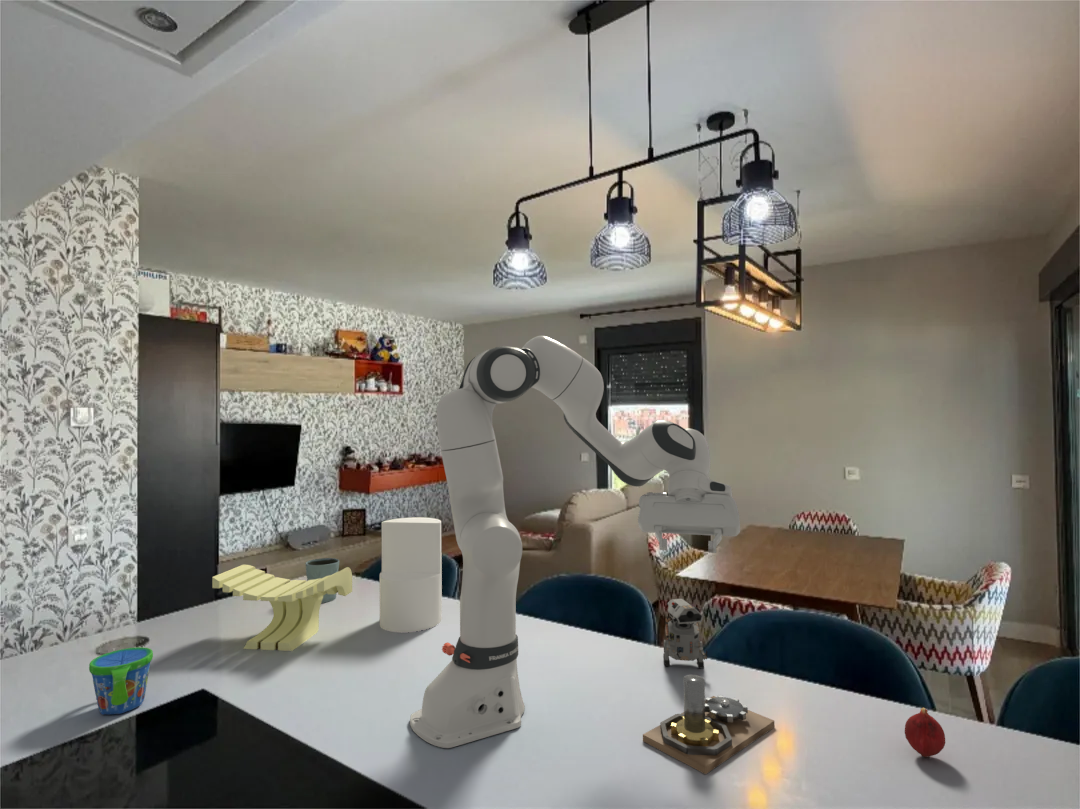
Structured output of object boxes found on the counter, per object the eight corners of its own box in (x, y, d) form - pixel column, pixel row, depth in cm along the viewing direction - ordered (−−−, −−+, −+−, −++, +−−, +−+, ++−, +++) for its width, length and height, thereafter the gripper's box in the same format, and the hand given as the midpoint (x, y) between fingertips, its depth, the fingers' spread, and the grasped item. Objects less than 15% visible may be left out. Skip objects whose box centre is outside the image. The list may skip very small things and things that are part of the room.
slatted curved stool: (352, 629, 163) (352, 564, 163) (324, 652, 147) (324, 580, 148) (250, 625, 167) (250, 561, 167) (212, 647, 151) (212, 576, 151)
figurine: (665, 677, 131) (664, 609, 132) (663, 657, 143) (662, 594, 143) (708, 680, 130) (707, 611, 130) (702, 659, 141) (701, 595, 142)
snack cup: (98, 696, 125) (98, 647, 125) (157, 686, 129) (158, 639, 130) (79, 732, 111) (79, 677, 111) (146, 718, 115) (146, 666, 116)
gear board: (705, 774, 96) (705, 760, 96) (642, 741, 106) (642, 728, 106) (774, 727, 110) (774, 715, 110) (713, 701, 120) (713, 690, 120)
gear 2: (732, 734, 106) (732, 716, 106) (694, 717, 112) (694, 700, 112) (756, 719, 111) (755, 701, 111) (718, 703, 117) (718, 687, 117)
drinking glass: (299, 603, 186) (299, 564, 187) (316, 593, 196) (316, 557, 197) (329, 604, 185) (329, 565, 185) (345, 594, 195) (345, 557, 195)
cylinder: (393, 610, 179) (393, 516, 179) (449, 612, 176) (448, 517, 177) (369, 631, 161) (368, 527, 162) (430, 633, 159) (430, 528, 160)
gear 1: (699, 753, 100) (698, 693, 100) (663, 735, 106) (662, 678, 106) (726, 736, 105) (725, 679, 105) (690, 720, 111) (689, 666, 111)
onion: (952, 768, 97) (951, 719, 97) (913, 764, 98) (912, 716, 98) (936, 749, 103) (935, 702, 103) (899, 745, 104) (898, 699, 104)
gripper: (638, 483, 128) (632, 538, 118) (738, 485, 122) (741, 543, 112) (641, 501, 132) (636, 555, 122) (738, 504, 126) (740, 561, 117)
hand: (687, 550), depth 117 cm, fingers open, 8 cm apart
